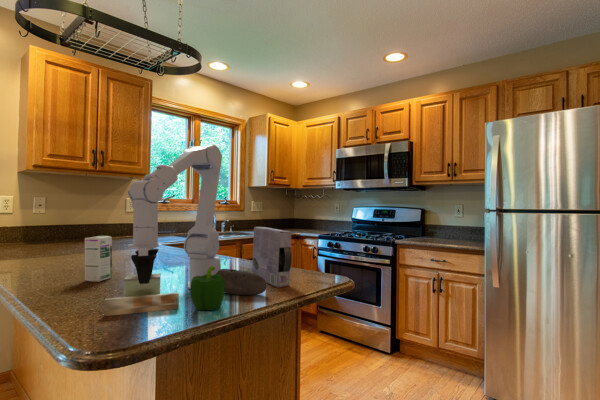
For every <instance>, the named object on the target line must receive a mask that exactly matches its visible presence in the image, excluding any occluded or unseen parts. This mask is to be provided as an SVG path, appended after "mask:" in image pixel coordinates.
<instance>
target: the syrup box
mask: <svg viewBox="0 0 600 400" xmlns="http://www.w3.org/2000/svg"><path fill="white" fill-rule="evenodd" d="M112 278H113V237H112V236H110V235H97V236H91V237H85V238H84V281H85V282H96V283H97V282H99V283H100V282H102V281H106V280H109V279H112Z"/></svg>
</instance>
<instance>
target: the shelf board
mask: <svg viewBox="0 0 600 400" xmlns="http://www.w3.org/2000/svg"><path fill="white" fill-rule="evenodd" d="M179 296H180V295H179V292H168V293H160V294H156V295H144V296H133V297H124V296H120V297H111V298H105V299H104V317H108V316H110V317H111V316H118V315H120V316H121V315H128V314H139V313H140V314H141V313H149V312H160V311H169V310H178V309H180V308H179V306H180V305H179V302H180V301H179V300H180V299H179Z"/></svg>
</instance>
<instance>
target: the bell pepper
mask: <svg viewBox="0 0 600 400" xmlns="http://www.w3.org/2000/svg"><path fill="white" fill-rule="evenodd" d="M214 269H215V267H213V266H211V267H210V268H209V269H208V271H207V274H205V275H203V276H195V277H193V278H192V281H191V289H190V295H191V299H192V305H193V306H194V308H195V309H196V310H198V311H206V310H207V311H214V310H218V309H220V307H221V306H222V303H223V300H224V295H225V293H224V291H225V281H224V278H223V277H221V276H220V275H219V274H215V275H213V276H212V275H211V271H212V270H214Z"/></svg>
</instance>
